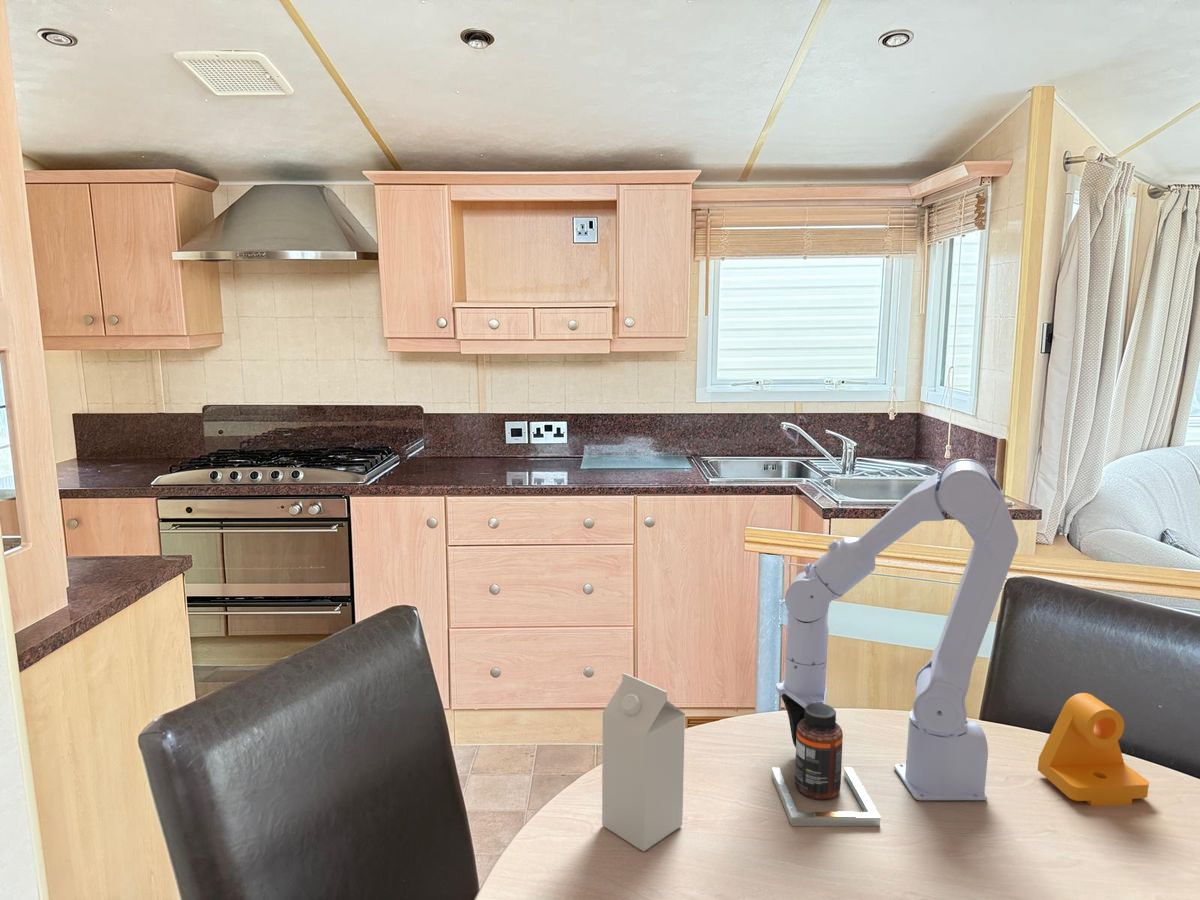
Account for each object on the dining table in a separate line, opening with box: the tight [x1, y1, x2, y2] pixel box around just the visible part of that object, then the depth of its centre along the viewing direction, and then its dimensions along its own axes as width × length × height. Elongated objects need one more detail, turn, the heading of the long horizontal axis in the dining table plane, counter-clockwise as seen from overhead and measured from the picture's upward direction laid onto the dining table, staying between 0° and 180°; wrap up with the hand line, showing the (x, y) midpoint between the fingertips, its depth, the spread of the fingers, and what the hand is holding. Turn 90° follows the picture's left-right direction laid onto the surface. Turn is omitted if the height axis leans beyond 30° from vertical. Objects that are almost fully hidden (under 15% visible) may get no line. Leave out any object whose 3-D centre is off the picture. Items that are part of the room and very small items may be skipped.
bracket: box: [1037, 692, 1150, 807], centre depth 105 cm, size 11×7×12 cm, turn 94°
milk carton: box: [601, 672, 686, 852], centre depth 96 cm, size 7×7×19 cm
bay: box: [771, 767, 881, 827], centre depth 103 cm, size 11×11×1 cm
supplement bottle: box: [794, 703, 844, 800], centre depth 104 cm, size 6×6×11 cm
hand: (801, 746), depth 113 cm, fingers closed
